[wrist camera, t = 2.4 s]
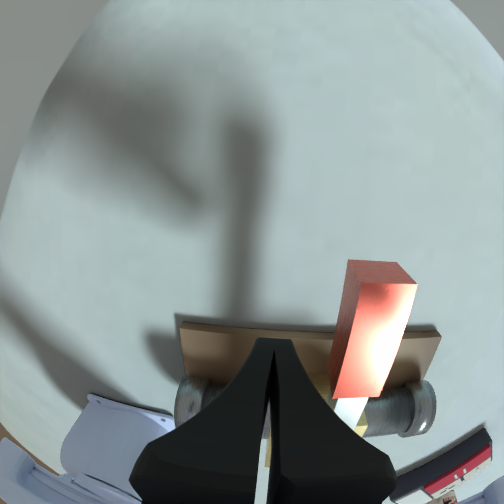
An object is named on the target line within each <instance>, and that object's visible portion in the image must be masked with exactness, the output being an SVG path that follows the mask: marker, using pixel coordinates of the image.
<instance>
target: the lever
mask: <svg viewBox="0 0 504 504" xmlns="http://www.w3.org/2000/svg"><path fill="white" fill-rule="evenodd" d="M416 288H417V283H416V282H415V281H414V280H413V279H412V278H411V277H410V276H409V275H408V274H407V273H406V272H405V271H404V270H403V268H402V267H401V266H400V265H399V264H398V263H397V262H383V261H366V260H349V259H348V263H347V270H346V276H345V282H344V288H343V294H342V299H341V305H340V310H339V315H338V320H337V325H336V330H335V334H334V339H333V344H332V348H331V352H330V357H329V361H328V365H327V369H328V375H329V381H330V389H329V393H328V396H327V399H326V402H327V404H328V405H329V406H330V407H331V408H332V410H333V411H334V412H335V413H336V414H337V415H338V416H339V417H340V418H341V419H342V420H343V421H344V422H345V423H346V424H347V425H348V426H349V427H350V428H351V429H352V430H353V431H354V429H355V427H356V424H357V422H358V420H359V418H360V416H361V414H362V411H363V409H364V407H365V405H366V402H367V400H368V398H369V397H379V395H380V392H381V390H382V388H383V385H384V383H385V381H386V378H387V376H388V373H389V371H390V368H391V366H392V363H393V361H394V358H395V355H396V352H397V350H398V347H399V344H400V341H401V338H402V335H403V332H404V329H405V326H406V323H407V320H408V317H409V313H410V310H411V306H412V303H413V299H414V296H415V292H416Z"/></svg>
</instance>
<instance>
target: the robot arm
mask: <svg viewBox="0 0 504 504" xmlns="http://www.w3.org/2000/svg"><path fill="white" fill-rule="evenodd" d="M269 398H270V421H271V459H270V471H269V482H268V492H267V502H266V504H382V502H383V501H384V500H385V499H386V498H387V497H388V496H389V495H390V494H391V493H392V492H393V491H394V490H395V488H396V487H397V484H398V481H397V477H396V473H395V470H394V467H393V465H392V463H391V460H390V458H389V456H388V455H387V454H385V453H384V452H382V451H380V450H379V449H377V448H376V447H374V446H373V445H371V444H370V443H368V442H367V441H366V440H364V439H363V438H362V437H361V436H359V435H358V434H357V433H356V432H355V431H353V430H352V429H351V428H350V427H349V426H348V425H347V424H346V423H345V422H344V421H343V420H342V419H341V418H340V417H339V416H338V415H337V414H336V413H335V412H334V411H333V410H332V408H331V407H330V406H329V405H328V404H327V402H326V401H325V400H324V399H323V397H322V396H321V395H320V393H319V392H318V390H317V389H316V387H315V386H314V384H313V383H312V381H311V379H310V378H309V376H308V374H307V373H306V371H305V369H304V367H303V365H302V363H301V361H300V359H299V357H298V355H297V352H296V350H295V347H294V344H293V341H292V340H291V339H279V338H263V337H259V338H257V339H256V341H255V344H254V346H253V348H252V350H251V352H250V354H249V355H248V357H247V359H246V360H245V362H244V363H243V365H242V366H241V368H240V369H239V371H238V372H237V373H236V375H235V376H234V377H233V379H232V380H231V381H230V382H229V384H228V385H227V386H226V387H225V388H224V389H223V390H222V391H221V392H220V393H219V394H218V395H217V396H216V397H215V398H214V399H213V400H212V401H211V402H210V403H209V404H208V405H207V406H206V407H204V408H203V409H202V410H201V411H200V412H198V413H197V414H196V415H194V416H193V417H192V418H190V419H189V420H187V421H186V422H184V423H183V424H181V425H180V426H178V427H177V428H175V423H174V418H173V417H172V416H170V415H166V414H161V413H157V412H152V411H148V410H144V409H140V408H136V407H133V406H129V405H125V404H122V403H118V402H115V401H112V400H108V399H105V398H102V397H99V396H96V395H93V394H88V395H87V399H88V401H89V402H88V404H87V405H86V407H85V408H84V410H83V411H82V413H81V414H80V416H79V417H78V419H77V420H76V422H75V423H74V425H73V427H72V428H71V430H70V431H69V433H68V434H67V436H66V437H65V439H64V441H63V444H62V448H61V453H60V459H61V464H62V467H63V469H64V471H65V472H66V473H67V474H60V476H59V477H58V476H56V475H54V474H53V473H51V472H49V471H47V470H46V469H44V468H42V467H41V466H39V465H38V464H36V463H35V461H34V460H33V459H32V458H31V457H30V456H29V455H28V454H27V453H26V452H25V451H24V450H22V449H21V448H20V447H18V446H17V445H15V444H14V443H13V442H11V441H10V440H8V439H7V438H3V439H2V441H1V442H0V498H1V499H3V500H4V501H5V502H6V503H7V504H254V500H255V492H256V483H257V473H258V463H259V453H260V444H261V439H262V434H263V429H264V424H265V419H266V414H267V408H268V403H269ZM72 478H74V479H73V480H72ZM455 504H504V476H502V477H500V478H498V479H497V480H495V481H494V482H492V483H491V484H490V485H488V486H487V487H486V488H485V489H484V490H483V491H482V492H480V493H478V494H476V495H474V496H471V497H469V498H467V499H465V500H462V501H460V502H457V503H455Z"/></svg>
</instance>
